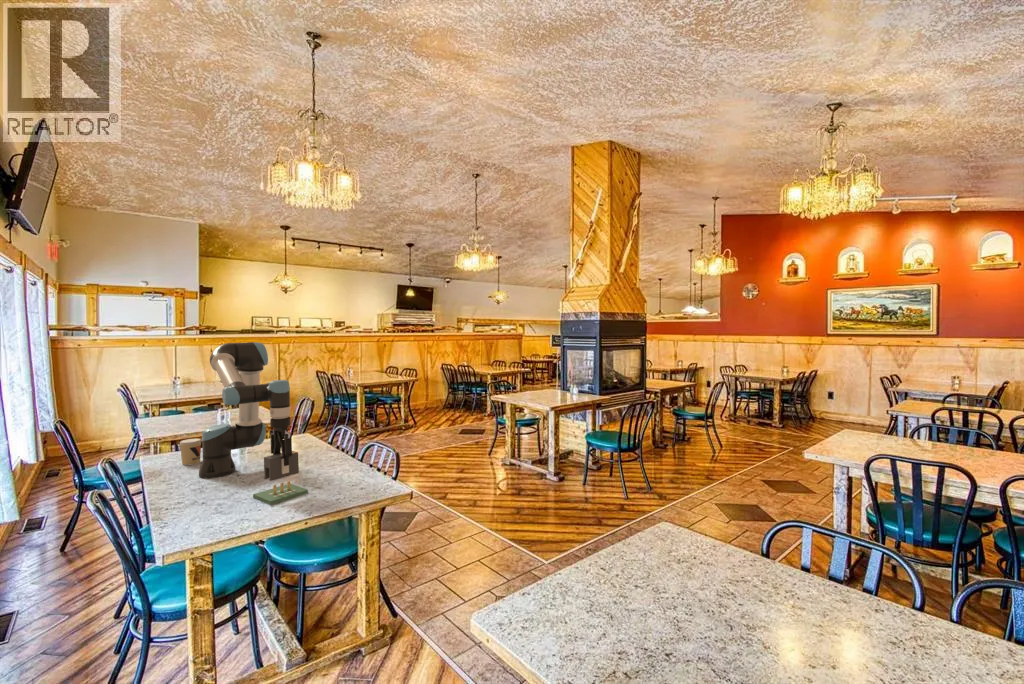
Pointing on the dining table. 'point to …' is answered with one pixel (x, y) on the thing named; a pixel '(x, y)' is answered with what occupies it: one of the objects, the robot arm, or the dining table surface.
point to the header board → (280, 493)
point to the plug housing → (280, 466)
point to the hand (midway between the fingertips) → (281, 471)
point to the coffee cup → (190, 451)
